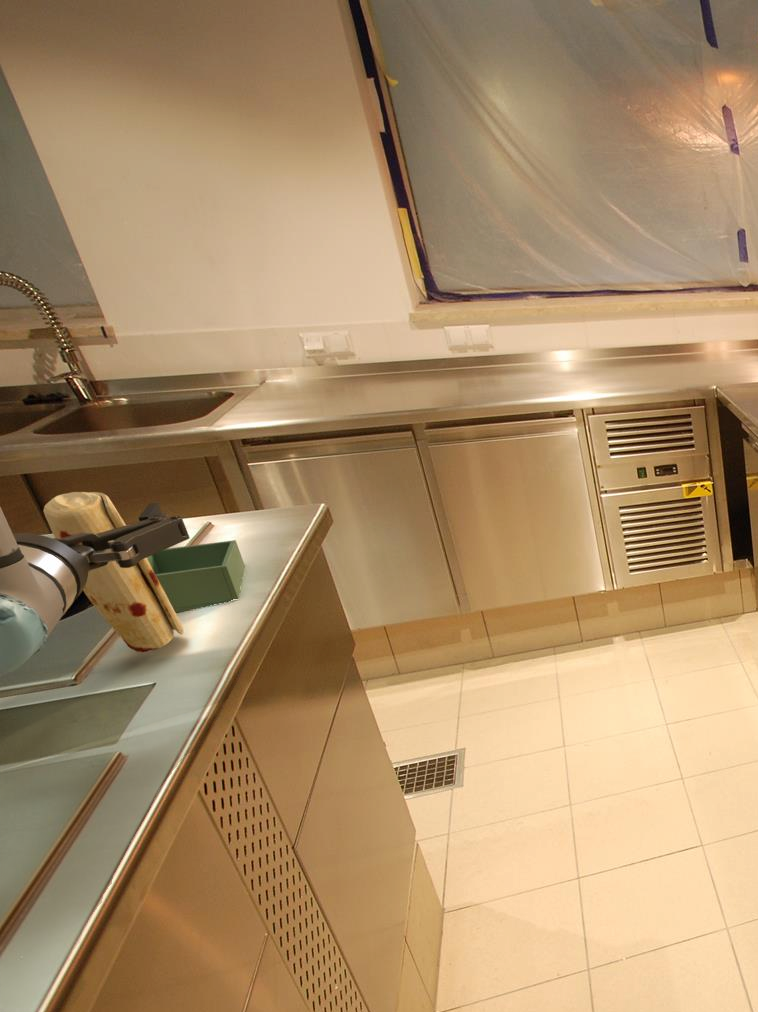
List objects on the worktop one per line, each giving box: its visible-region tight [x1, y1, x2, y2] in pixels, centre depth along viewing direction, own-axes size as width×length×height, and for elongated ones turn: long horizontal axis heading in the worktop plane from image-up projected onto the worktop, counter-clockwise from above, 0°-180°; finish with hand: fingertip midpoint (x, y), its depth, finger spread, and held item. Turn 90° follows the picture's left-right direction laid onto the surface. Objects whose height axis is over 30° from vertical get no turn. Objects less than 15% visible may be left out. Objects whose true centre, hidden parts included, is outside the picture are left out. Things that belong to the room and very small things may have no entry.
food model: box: [42, 491, 185, 653], centre depth 102 cm, size 10×7×20 cm
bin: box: [147, 540, 246, 614], centre depth 121 cm, size 10×13×6 cm
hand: (77, 523), depth 92 cm, fingers open, 13 cm apart
